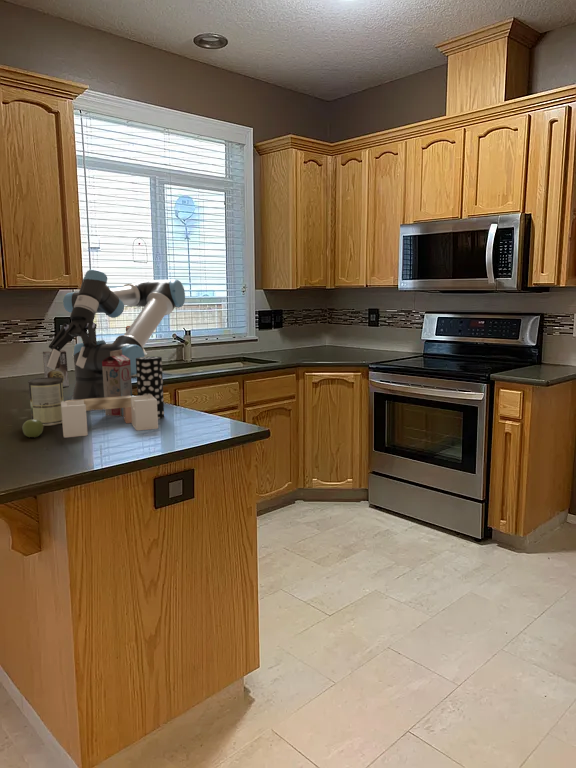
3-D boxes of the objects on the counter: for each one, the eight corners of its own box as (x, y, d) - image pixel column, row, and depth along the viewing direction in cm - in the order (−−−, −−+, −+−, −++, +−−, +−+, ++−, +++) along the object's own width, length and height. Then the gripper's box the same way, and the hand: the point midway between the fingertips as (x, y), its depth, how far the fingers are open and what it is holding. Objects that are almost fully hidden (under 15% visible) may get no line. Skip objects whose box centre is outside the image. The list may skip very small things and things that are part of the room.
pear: (20, 420, 166) (23, 419, 176) (22, 439, 166) (25, 437, 176) (41, 418, 168) (43, 417, 178) (43, 437, 168) (45, 435, 178)
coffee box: (66, 384, 270) (63, 349, 267) (69, 386, 264) (66, 350, 262) (45, 386, 265) (42, 351, 262) (47, 388, 260) (45, 352, 257)
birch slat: (66, 412, 180) (66, 402, 180) (66, 409, 184) (65, 400, 184) (133, 406, 188) (132, 397, 187) (131, 404, 192) (130, 395, 191)
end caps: (63, 437, 169) (61, 407, 167) (62, 430, 177) (60, 401, 176) (158, 428, 179) (156, 399, 178) (152, 422, 188) (151, 394, 186)
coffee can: (25, 423, 189) (21, 380, 187) (55, 417, 197) (52, 376, 194) (41, 427, 182) (38, 382, 180) (72, 421, 190) (69, 378, 188)
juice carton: (133, 412, 204) (129, 349, 201) (122, 416, 198) (118, 351, 194) (116, 411, 206) (113, 349, 203) (105, 415, 200) (101, 351, 196)
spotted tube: (134, 417, 196) (130, 358, 193) (155, 413, 201) (152, 355, 198) (147, 421, 190) (144, 359, 187) (169, 417, 196) (166, 357, 192)
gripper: (51, 308, 203) (30, 363, 196) (103, 302, 192) (83, 360, 184) (67, 319, 209) (47, 373, 202) (118, 313, 198) (100, 370, 190)
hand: (64, 367), depth 193 cm, fingers open, 13 cm apart
